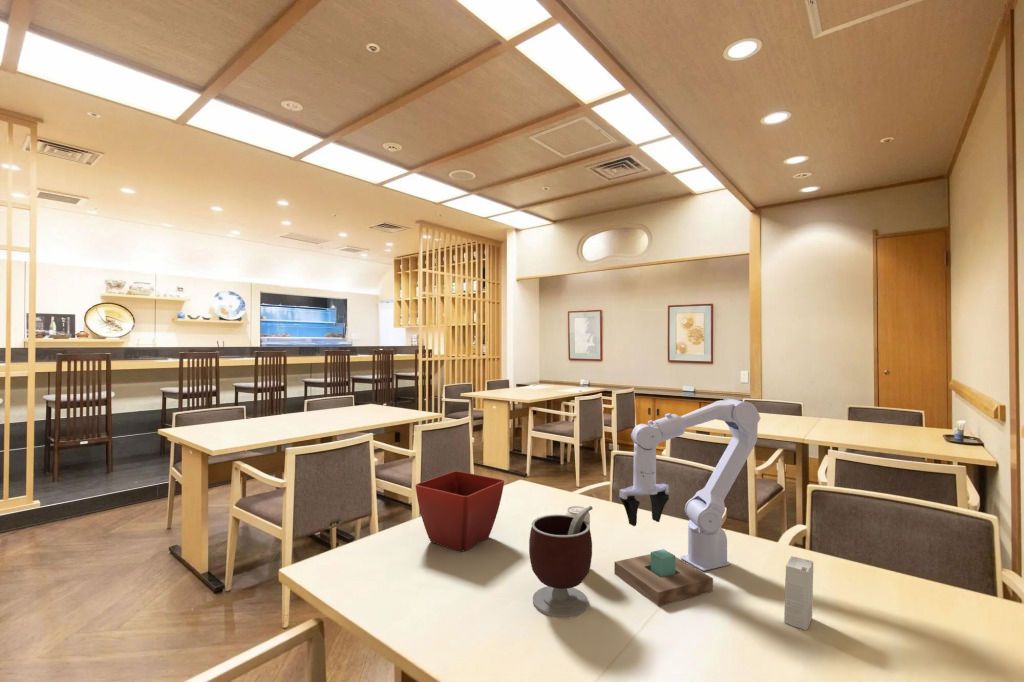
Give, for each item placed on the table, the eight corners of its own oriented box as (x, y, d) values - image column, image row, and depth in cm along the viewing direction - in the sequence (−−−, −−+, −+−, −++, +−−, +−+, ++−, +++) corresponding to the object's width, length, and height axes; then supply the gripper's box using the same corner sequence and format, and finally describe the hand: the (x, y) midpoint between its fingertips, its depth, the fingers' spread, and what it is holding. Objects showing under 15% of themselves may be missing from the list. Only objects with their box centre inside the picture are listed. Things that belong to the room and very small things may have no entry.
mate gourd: (550, 627, 97) (550, 527, 97) (517, 594, 109) (518, 507, 109) (611, 607, 104) (611, 515, 104) (574, 579, 116) (574, 497, 116)
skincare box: (789, 610, 103) (789, 554, 103) (813, 618, 100) (813, 560, 100) (783, 623, 98) (783, 564, 98) (808, 632, 95) (808, 571, 95)
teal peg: (663, 577, 117) (663, 549, 117) (675, 585, 114) (675, 555, 114) (650, 581, 116) (650, 552, 116) (662, 588, 112) (662, 558, 112)
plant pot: (505, 536, 142) (505, 479, 143) (466, 560, 126) (466, 496, 126) (455, 522, 153) (455, 470, 153) (413, 543, 137) (413, 484, 137)
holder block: (665, 562, 125) (665, 550, 125) (713, 591, 111) (713, 578, 111) (614, 573, 119) (614, 561, 119) (658, 606, 104) (658, 592, 104)
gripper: (631, 477, 119) (631, 532, 119) (677, 471, 125) (676, 524, 125) (614, 470, 125) (614, 522, 125) (658, 465, 131) (658, 515, 131)
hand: (644, 522), depth 125 cm, fingers open, 7 cm apart
